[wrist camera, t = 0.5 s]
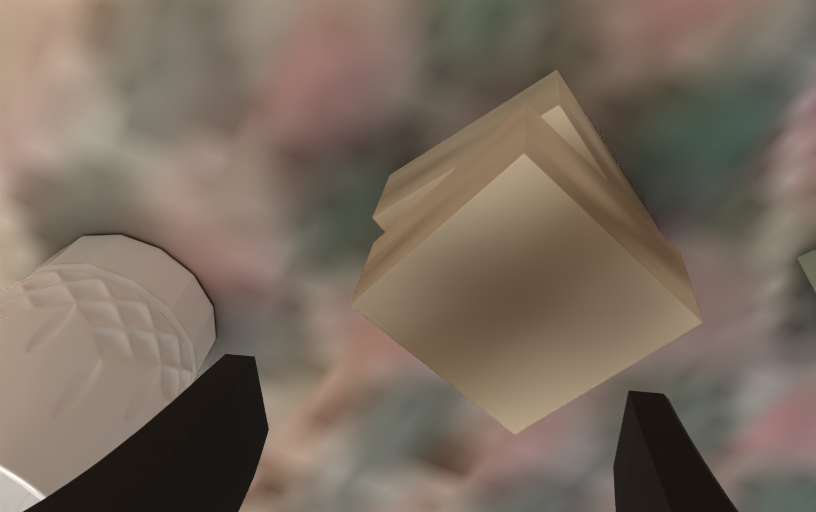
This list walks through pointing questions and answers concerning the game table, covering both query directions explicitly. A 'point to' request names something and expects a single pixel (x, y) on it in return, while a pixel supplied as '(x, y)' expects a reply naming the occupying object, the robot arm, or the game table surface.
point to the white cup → (91, 358)
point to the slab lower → (439, 161)
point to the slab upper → (526, 277)
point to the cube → (809, 266)
